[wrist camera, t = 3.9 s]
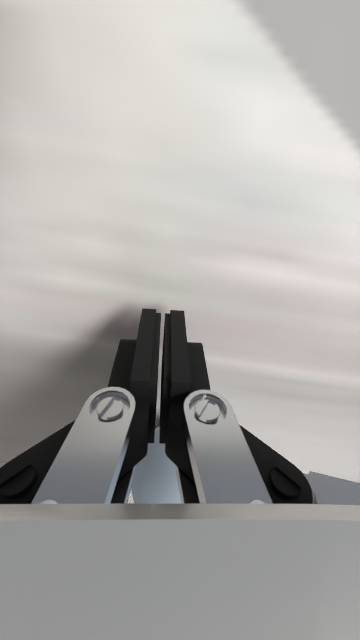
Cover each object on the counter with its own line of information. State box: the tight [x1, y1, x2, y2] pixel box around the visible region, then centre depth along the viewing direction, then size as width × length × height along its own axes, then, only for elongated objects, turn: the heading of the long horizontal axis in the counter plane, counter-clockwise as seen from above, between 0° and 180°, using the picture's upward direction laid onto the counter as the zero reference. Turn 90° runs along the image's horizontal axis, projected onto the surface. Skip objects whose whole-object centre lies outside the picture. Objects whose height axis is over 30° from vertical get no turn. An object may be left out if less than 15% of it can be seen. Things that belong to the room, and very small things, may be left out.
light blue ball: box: [131, 426, 181, 504], centre depth 14 cm, size 6×6×6 cm
